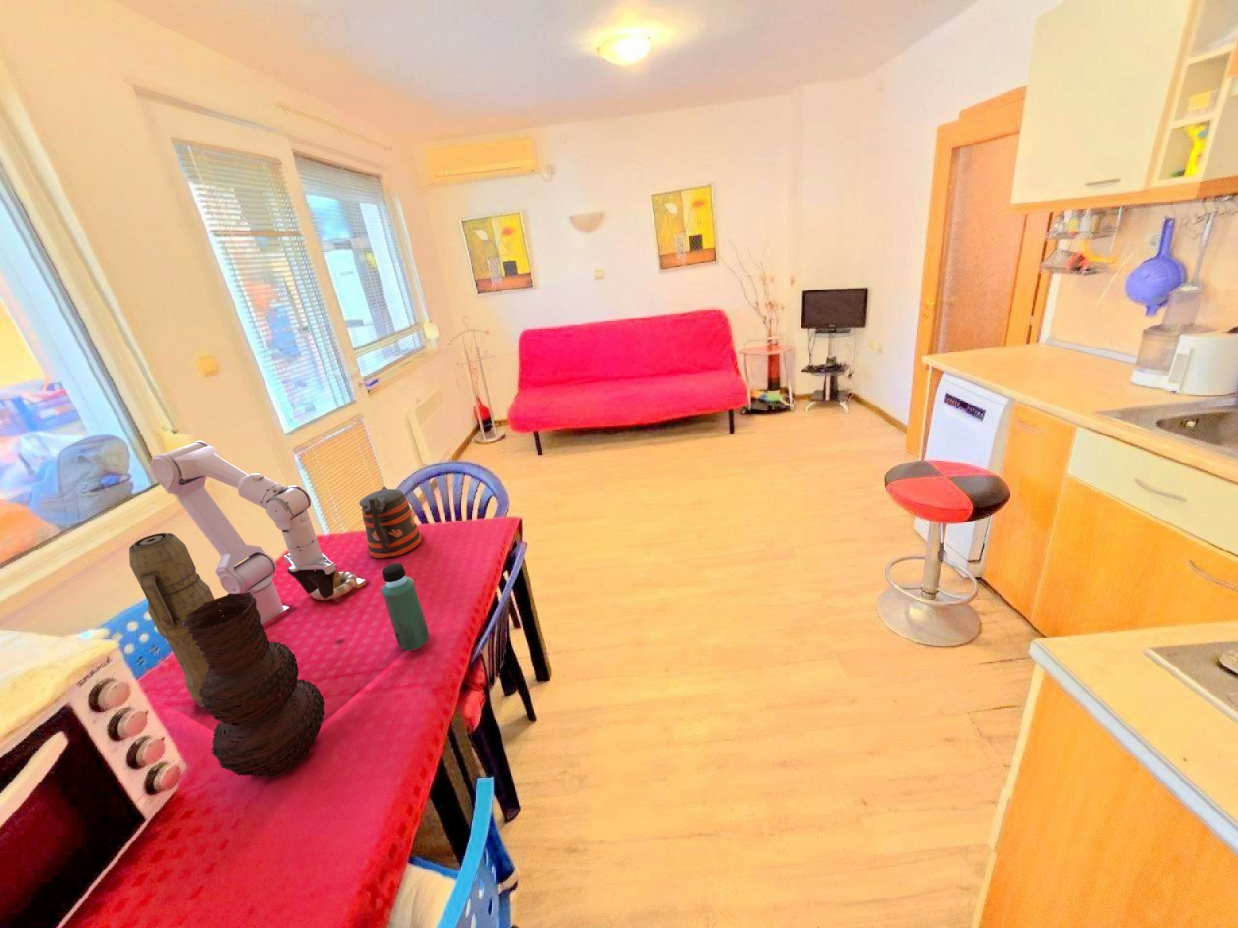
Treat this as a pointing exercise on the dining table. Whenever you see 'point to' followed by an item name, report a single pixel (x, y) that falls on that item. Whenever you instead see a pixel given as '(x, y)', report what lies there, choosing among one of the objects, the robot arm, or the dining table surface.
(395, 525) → the beer stein
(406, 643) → the beverage bottle
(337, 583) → the stand
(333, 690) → the dining table surface
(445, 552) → the dining table surface
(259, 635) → the vase
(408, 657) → the dining table surface
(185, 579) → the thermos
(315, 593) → the ring
